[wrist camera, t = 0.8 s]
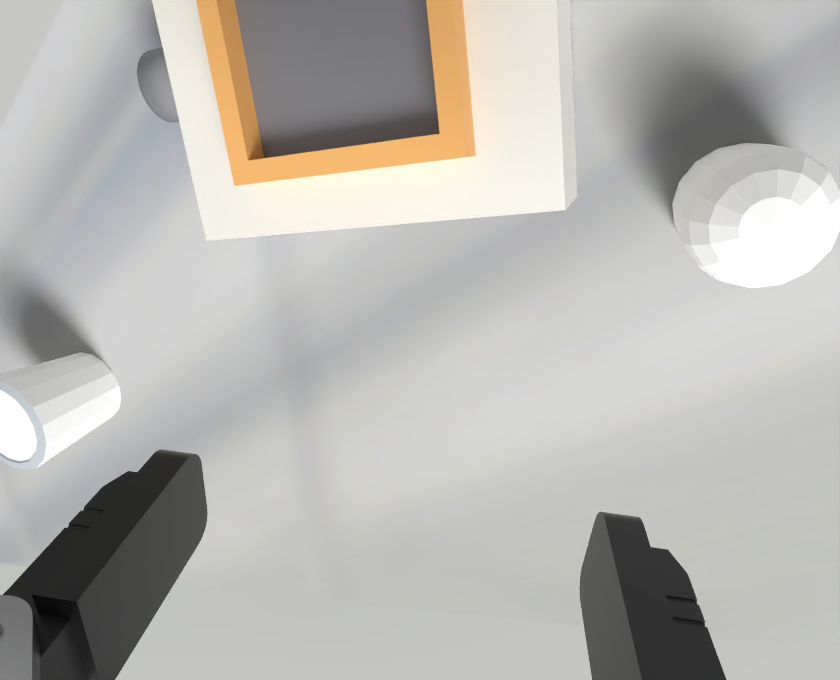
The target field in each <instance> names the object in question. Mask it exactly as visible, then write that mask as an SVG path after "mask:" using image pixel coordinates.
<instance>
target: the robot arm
mask: <svg viewBox="0 0 840 680" xmlns="http://www.w3.org/2000/svg"><path fill="white" fill-rule="evenodd" d="M206 522H207V504H206V496H205V488H204V480H203V472H202V464H201V460H200V457H199V456H198V455H196V454H190V453H183V452H176V451H169V450H158V451H157V452H155V453H154V454H153V455H152V456H151V457H150V459H149V460H148V461H147V462H146V463H145V464H144V466H143V467H142V468H141V469H140V470H139V471H138V472H130V471H128V472H126V473H124V474H123V475H121V476H120V477H118V478H116V479H115V480H113V481H111V482H110V483H108V484H107V485H105V486H103V487H102V488H101V489H100V490H99V491H98V492H97V494H96V495H95V496H94V497H93V498H92V499H91V500H90V501H89V502H88V503H87V504H86V505H85V507H84V510H83V511H80V512H79V513H78V514H77V515H76V516H75V517H74V518H73V520H72V521H71V522H70V523H69V526H68V528H64V529H63V530H62V532H61V533H60V534H59V535H58V536H57V537H56V538H55V539H54V540H53V541H52V542H51V543H50V545H49V546H48V547H47V548H46V549H45V550H44V551H43V552H42V553H41V554H40V555H39V556H38V558H37V559H36V560H35V561H34V562H33V563H32V564H31V565H30V566H29V567H28V568H27V569H26V571H25V572H24V573H23V574H22V575H21V576H20V577H19V578H18V579H17V580H16V581H15V583H14V584H13V585H12V586H11V587H10V588H9V589H8V590H7V591H6V592H5V593H4V594H3V595H1V596H0V680H115V679H116V677H117V676H118V674H119V672H120V671H121V669H122V667H123V666H124V664H125V663H126V661H127V659H128V658H129V656H130V654H131V653H132V651H133V650H134V648H135V646H136V645H137V643H138V642H139V640H140V638H141V637H142V635H143V633H144V632H145V630H146V629H147V627H148V625H149V624H150V622H151V620H152V619H153V617H154V615H155V614H156V612H157V611H158V609H159V607H160V606H161V604H162V602H163V601H164V599H165V598H166V596H167V594H168V593H169V591H170V589H171V588H172V586H173V585H174V583H175V581H176V580H177V578H178V577H179V575H180V573H181V572H182V570H183V568H184V567H185V565H186V564H187V562H188V560H189V559H190V557H191V555H192V554H193V552H194V551H195V549H196V547H197V546H198V544H199V542H200V541H201V538H202V536H203V533H204V530H205V527H206ZM580 601H581V608H582V615H583V622H584V628H585V635H586V641H587V647H588V655H589V661H590V667H591V674H592V680H726V678H725V675H724V672H723V670H722V667H721V664H720V661H719V659H718V656H717V654H716V650H715V648H714V645H713V642H712V639H711V637H710V634H709V631H708V628H707V627H705V620H704V618H703V615H702V612H701V609H700V607H699V605H697V599H696V596H695V593H694V590H693V588H692V585H691V582H690V579H689V577H688V574H687V573H686V571H685V570H684V569H683V568H682V566H681V565H680V564H679V563H678V562H677V560H676V559H675V558H674V557H673V555H672V554H671V553H670V552H669V551H668V550H666V549H659V548H652V547H650V544H649V541H648V538H647V534H646V531H645V528H644V525H643V522H642V520H641V519H640V518H639V517H633V516H626V515H619V514H612V513H605V512H599V513H598V514H597V516H596V519H595V522H594V526H593V529H592V533H591V537H590V540H589V544H588V547H587V551H586V555H585V558H584V562H583V565H582V570H581V577H580Z"/></svg>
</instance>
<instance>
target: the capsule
mask: <svg viewBox="0 0 840 680" xmlns="http://www.w3.org/2000/svg"><path fill="white" fill-rule="evenodd" d="M672 208H673V219H674V226H675V228H676V230H677V232H678V234H679V236H680V238H681V240H682V242H683V244H684V245H685V247H686V249H687V250H688V252H689V254H690V256H691V257H692V259H693V261H694V262H695V264H696V265H697V266H698V267H699V268H701V269H702V270H704V271H705V272H706V273H708V274H709V275H711V276H712V277H714V278H715V279H716V280H718V281H722V282H726V283H731V284H735V285H739V286H744V287H749V288H757V287H765V286H774V285H781V284H784V283H786V282H788V281H790V280H792V279H794V278H796V277H798V276H801V275H803V274H805V273H807V272H809V271H810V270H811V269H812V268H813V267H814V266H815V265H816V264H817V263H818V262H819V261H820V260H821V259H822V258H823V257H824V256H825V255H826V254H827V253H829V252H830V251H831V249H832V247H833V244H834V242H835V240H836V238H837V235H838V233H839V231H840V191H839V189H838V187H837V185H836V183H835V181H834V180H833V178H832V176H831V174H830V172H829V171H828V169H827V167H826V166H825V165H823V164H822V163H820V162H819V161H817V160H816V159H814V158H813V157H811V156H810V155H808V154H807V153H806V152H804V151H803V150H801V149H795V148H789V147H783V146H777V145H771V144H754V143H742V144H737V145H732V146H727V147H722V148H718V149H716V150H714V151H712V152H711V153H709V154H707V155H706V156H704V157H702V158H701V159H699V160H697V161H696V162H695V163H694V164H693V165H692V166H691V168H690V169H689V170H688V171H687V173H686V174H685V175H684V176H683V177H682V179H681V180H680V181H679V184H678V187H677V190H676V193H675V196H674V199H673V202H672Z"/></svg>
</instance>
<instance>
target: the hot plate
mask: <svg viewBox="0 0 840 680" xmlns="http://www.w3.org/2000/svg"><path fill="white" fill-rule="evenodd" d="M152 3H153V7H154V11H155V16H156V20H157V25H158V29H159V34H160V38H161V42H162V48H158V49H153V50H149V51H147V52H145V53H144V54H143V55H142V56H141V58H140V60H139V63H138V69H137V76H138V82H139V87H140V90H141V92H142V95H143V97H144V99H145V101H146V103H147V104H148V106H149V107H150V108H151V110H152V111H153V112H154V113H155V114H156V115H157V116H159V117H160V118H161V119H163V120H165V121H168V122H180V126H181V131H182V135H183V140H184V144H185V148H186V153H187V157H188V162H189V166H190V171H191V175H192V179H193V184H194V188H195V193H196V197H197V201H198V206H199V210H200V215H201V219H202V224H203V228H204V232H205V237H206V241H208V240H220V239H231V238H243V237H255V236H266V235H278V234H290V233H302V232H313V231H325V230H337V229H349V228H360V227H372V226H384V225H395V224H407V223H419V222H431V221H442V220H454V219H466V218H478V217H489V216H501V215H513V214H524V213H536V212H548V211H560V210H566V209H567V208H568V206H569V205H570V204H571V203H572V202H573V201H574V200H575V198H576V197H577V174H576V146H575V118H574V90H573V62H572V35H571V7H570V0H152Z"/></svg>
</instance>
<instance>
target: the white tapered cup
mask: <svg viewBox="0 0 840 680" xmlns="http://www.w3.org/2000/svg"><path fill="white" fill-rule="evenodd" d="M120 402H121V394H120V388H119V384H118V382H117V380H116V378H115V376H114V374H113V372H112V371H111V370H110V369H109V367H108V366H107V365H106V364H105V363H104V362H103V361H102V360H100V359H99V358H97V357H96V356H94V355H92V354H88V353H83V352H79V353H76V354H72V355H68V356H65V357H61V358H58V359H54V360H51V361H47V362H44V363H40V364H37V365H33V366H29V367H26V368H22V369H19V370H15V371H12V372H8V373H5V374H1V375H0V460H1V461H3V462H4V463H6V464H7V465H9V466H10V467H13V468H17V469H20V470H24V471H25V470H30V469H34V468H37V467H39V466H40V465H42V464H43V463H44V462H46V461H47V460H49V459H50V458H52V457H53V456H55V455H56V454H58V453H59V452H61V451H62V450H64V449H65V448H67V447H68V446H70V445H71V444H73V443H74V442H76V441H77V440H78V439H80V438H81V437H83V436H84V435H86V434H87V433H89V432H90V431H92V430H93V429H95V428H96V427H98V426H99V425H101V424H102V423H104V422H105V421H107V420H108V419H110V418H111V417H112V416H113V415H114V414H115V413H116V412H117V411H118V410H119V406H120Z"/></svg>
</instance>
